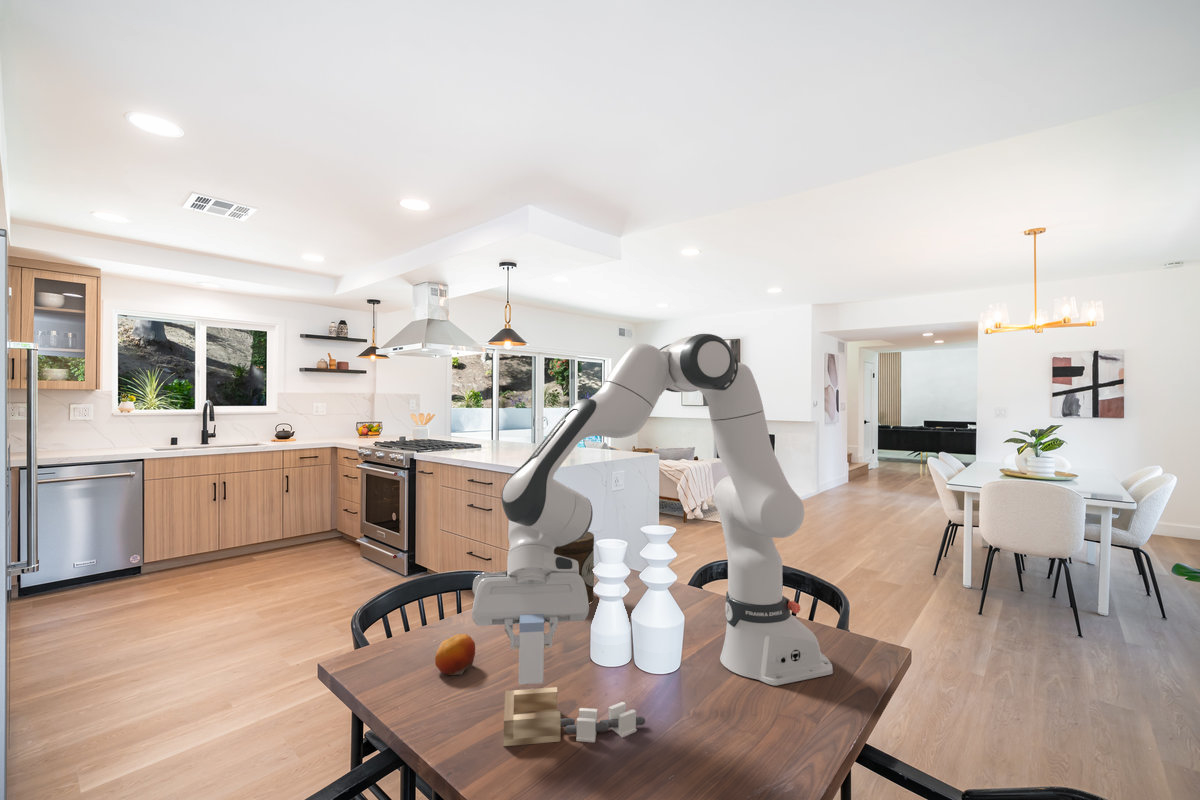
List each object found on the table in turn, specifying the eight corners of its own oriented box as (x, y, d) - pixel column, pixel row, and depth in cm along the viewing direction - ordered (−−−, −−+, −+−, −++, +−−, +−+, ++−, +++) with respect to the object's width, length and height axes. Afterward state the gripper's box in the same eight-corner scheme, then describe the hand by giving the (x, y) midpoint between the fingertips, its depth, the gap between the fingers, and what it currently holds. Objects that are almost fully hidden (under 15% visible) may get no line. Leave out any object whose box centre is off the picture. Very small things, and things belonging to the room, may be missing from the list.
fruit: (469, 676, 104) (451, 638, 105) (439, 691, 106) (422, 653, 107) (491, 658, 111) (474, 622, 113) (463, 672, 113) (446, 637, 115)
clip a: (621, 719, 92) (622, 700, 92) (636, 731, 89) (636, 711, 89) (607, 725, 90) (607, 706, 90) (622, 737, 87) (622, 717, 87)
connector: (542, 671, 92) (543, 612, 92) (543, 683, 88) (544, 622, 88) (518, 672, 92) (519, 613, 92) (518, 684, 88) (519, 623, 88)
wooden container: (599, 607, 143) (599, 525, 143) (544, 612, 140) (544, 528, 140) (587, 589, 158) (588, 514, 158) (537, 593, 154) (538, 516, 154)
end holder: (556, 709, 95) (556, 687, 95) (560, 741, 86) (560, 716, 86) (505, 713, 94) (505, 690, 94) (503, 746, 85) (503, 720, 85)
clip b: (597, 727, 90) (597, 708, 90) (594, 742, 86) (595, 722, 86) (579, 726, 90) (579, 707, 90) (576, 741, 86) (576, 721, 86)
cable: (642, 717, 92) (642, 710, 92) (647, 728, 89) (647, 721, 89) (548, 725, 90) (548, 718, 90) (549, 737, 86) (549, 729, 86)
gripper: (472, 564, 95) (466, 643, 86) (586, 560, 98) (592, 636, 89) (474, 581, 100) (468, 658, 90) (583, 577, 103) (589, 651, 93)
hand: (531, 647), depth 89 cm, fingers closed on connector, 4 cm apart
